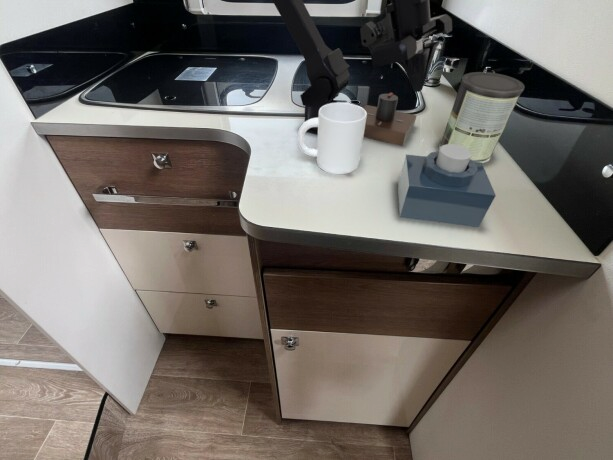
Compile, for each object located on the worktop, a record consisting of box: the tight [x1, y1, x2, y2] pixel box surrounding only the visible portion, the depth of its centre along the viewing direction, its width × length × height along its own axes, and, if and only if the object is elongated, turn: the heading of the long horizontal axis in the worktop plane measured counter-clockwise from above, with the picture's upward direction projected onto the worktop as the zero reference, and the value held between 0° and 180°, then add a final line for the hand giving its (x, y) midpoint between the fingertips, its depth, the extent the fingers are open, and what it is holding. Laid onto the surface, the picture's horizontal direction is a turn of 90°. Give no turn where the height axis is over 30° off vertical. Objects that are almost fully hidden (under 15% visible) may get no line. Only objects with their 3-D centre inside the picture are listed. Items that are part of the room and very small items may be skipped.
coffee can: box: [438, 71, 525, 165], centre depth 61 cm, size 10×10×14 cm
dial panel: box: [362, 104, 417, 147], centre depth 71 cm, size 12×10×3 cm
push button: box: [436, 144, 472, 173], centre depth 47 cm, size 4×4×2 cm
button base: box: [397, 150, 496, 228], centre depth 50 cm, size 12×9×8 cm
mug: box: [296, 102, 367, 175], centre depth 58 cm, size 12×8×10 cm
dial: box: [376, 92, 399, 122], centre depth 68 cm, size 4×4×5 cm
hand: (418, 91), depth 58 cm, fingers closed
